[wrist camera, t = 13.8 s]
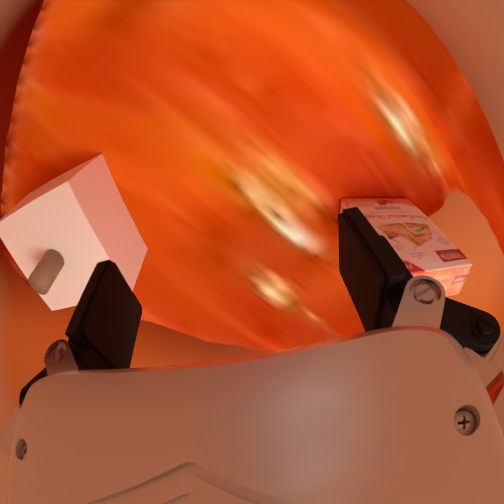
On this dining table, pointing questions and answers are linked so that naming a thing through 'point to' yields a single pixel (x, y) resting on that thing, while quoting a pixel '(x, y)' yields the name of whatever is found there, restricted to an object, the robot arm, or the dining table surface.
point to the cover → (72, 233)
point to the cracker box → (415, 240)
